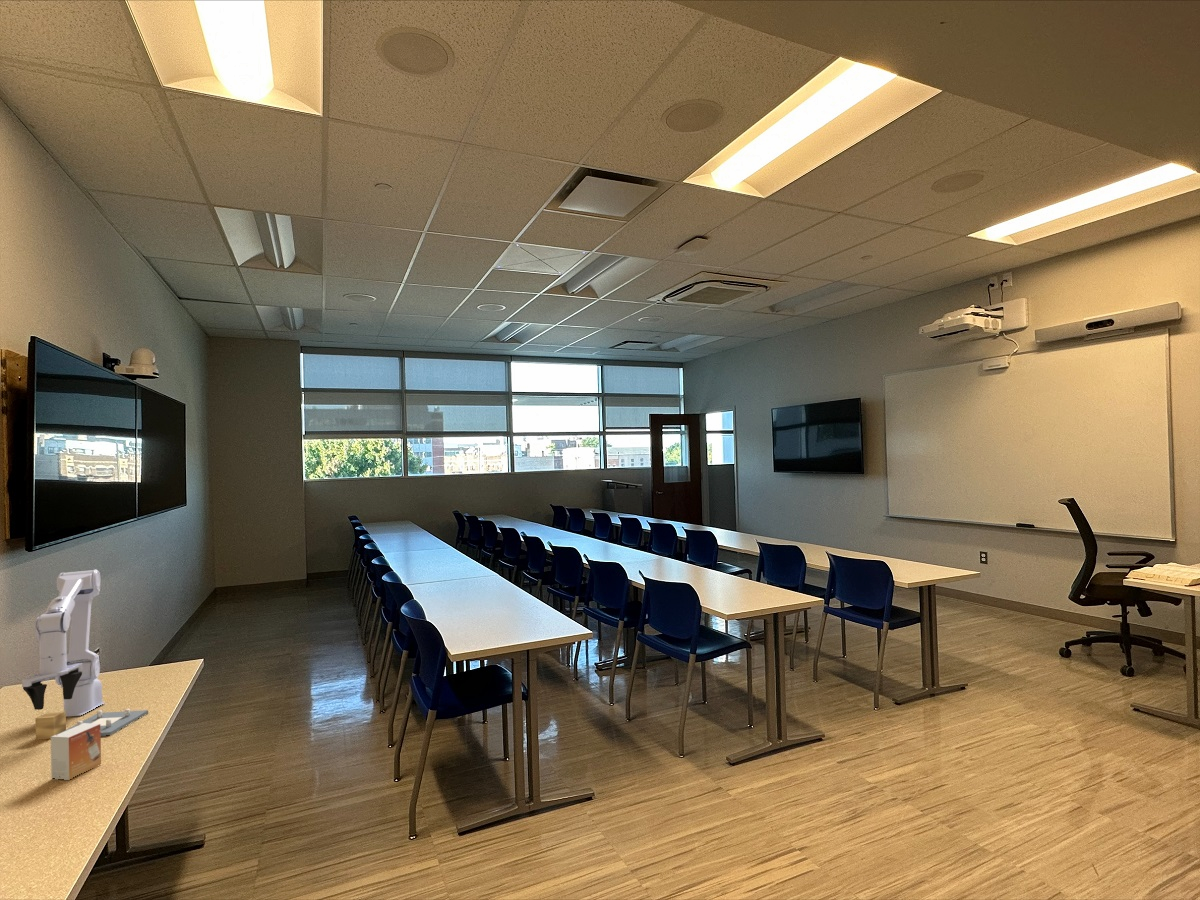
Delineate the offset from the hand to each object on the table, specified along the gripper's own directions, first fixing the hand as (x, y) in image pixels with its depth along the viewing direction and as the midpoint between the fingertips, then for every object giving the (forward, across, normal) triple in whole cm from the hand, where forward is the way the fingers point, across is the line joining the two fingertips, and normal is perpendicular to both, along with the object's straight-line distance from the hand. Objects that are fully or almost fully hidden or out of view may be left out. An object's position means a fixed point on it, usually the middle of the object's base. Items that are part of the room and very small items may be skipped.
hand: (53, 703), depth 169 cm
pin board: (+10, +9, -6) cm, 15 cm away
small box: (+11, -15, -26) cm, 32 cm away
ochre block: (+10, +2, +4) cm, 11 cm away
